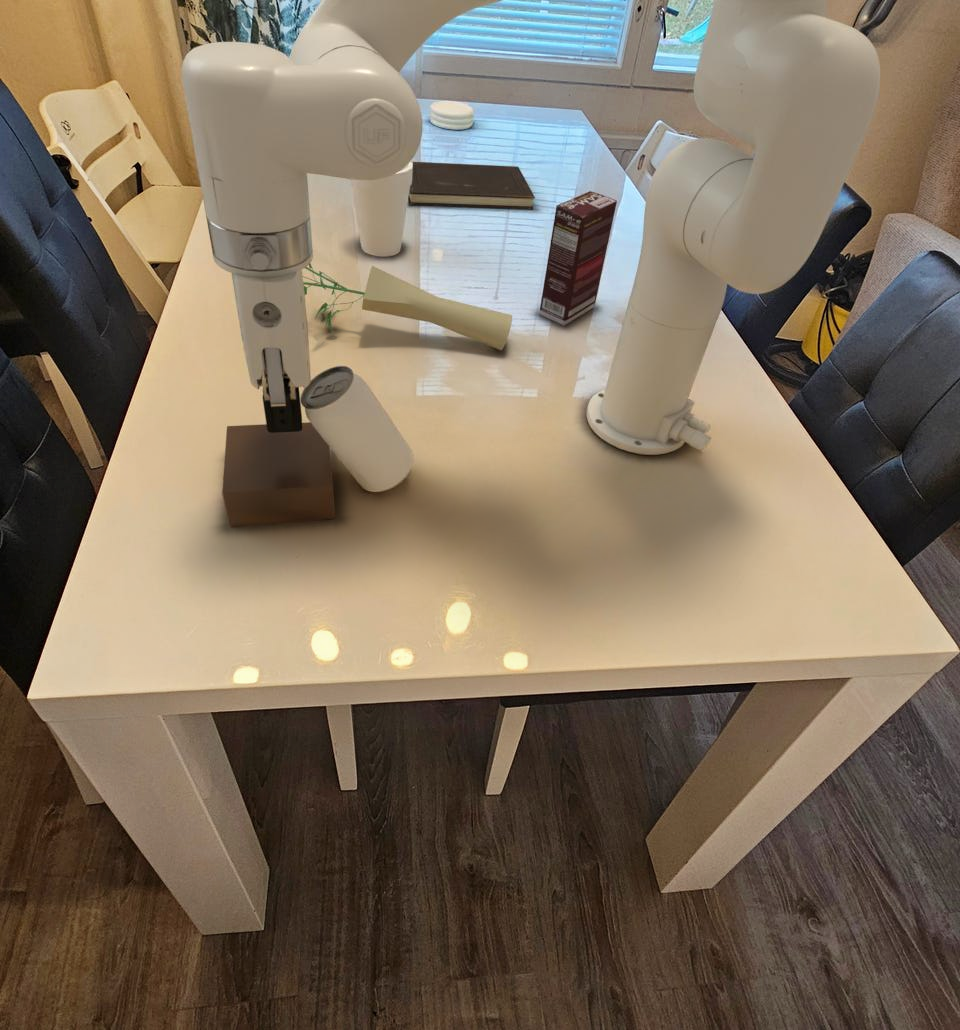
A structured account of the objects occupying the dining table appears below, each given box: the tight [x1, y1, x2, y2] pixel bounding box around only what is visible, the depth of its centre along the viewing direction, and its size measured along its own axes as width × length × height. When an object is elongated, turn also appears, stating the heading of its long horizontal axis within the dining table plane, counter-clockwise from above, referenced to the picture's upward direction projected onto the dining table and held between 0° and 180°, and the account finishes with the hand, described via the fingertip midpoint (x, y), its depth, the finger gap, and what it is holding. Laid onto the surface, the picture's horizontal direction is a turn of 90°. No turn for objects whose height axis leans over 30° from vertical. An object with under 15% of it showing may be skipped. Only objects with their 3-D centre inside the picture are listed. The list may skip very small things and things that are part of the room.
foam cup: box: [349, 160, 413, 257], centre depth 109 cm, size 10×9×13 cm
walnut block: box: [221, 421, 336, 527], centre depth 71 cm, size 10×10×4 cm
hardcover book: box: [408, 161, 536, 210], centre depth 133 cm, size 16×23×2 cm
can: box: [300, 365, 415, 493], centre depth 69 cm, size 6×6×12 cm
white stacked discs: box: [429, 100, 475, 131], centre depth 161 cm, size 10×10×4 cm
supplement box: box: [538, 190, 618, 326], centre depth 99 cm, size 9×5×16 cm, turn 141°
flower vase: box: [302, 262, 513, 351], centre depth 93 cm, size 12×12×35 cm
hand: (285, 426), depth 67 cm, fingers closed
